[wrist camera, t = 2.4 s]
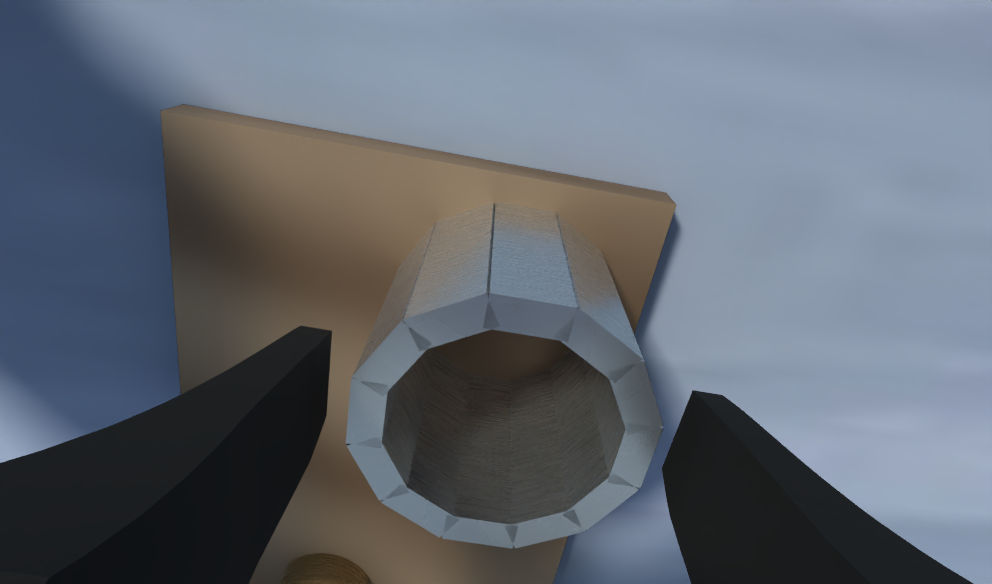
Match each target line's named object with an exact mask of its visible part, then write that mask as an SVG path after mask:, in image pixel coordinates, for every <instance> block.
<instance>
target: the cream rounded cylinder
mask: <svg viewBox="0 0 992 584" xmlns="http://www.w3.org/2000/svg"><path fill="white" fill-rule="evenodd" d="M279 584H371V582H370V580H369V577H368V576H367V574H366V573H365V571H364V570H363V569H362V568H361V567H359V566H358V565H357V564H355V563H354V562H352V561H350V560H348V559H346V558H344V557H341V556H337V555H333V554H326V553H315V554H308V555H304V556H301V557H299V558H297V559H295V560H294V561H292V562H291V563H290V564H289V565H288V566H287V567H286V569H285V571H284V573H283V576H282V578H281V581H280V583H279Z"/></svg>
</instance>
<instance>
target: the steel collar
mask: <svg viewBox="0 0 992 584" xmlns="http://www.w3.org/2000/svg"><path fill="white" fill-rule="evenodd" d="M491 329H493V330H499V331H505V332H511V333H517V334H523V335H529V336H535V337H541V338H547V339H553V340H559V341H561V342H562V343H564V344H565V345H566V346H567V347H569V348H570V349H571V350H570V351H569V352H568V353H567V354H566V355H565V356H564V357H563V358H562V359H561V360H559V361H558V362H557V363H556V364H555V365H554V366H553V367H552V368H551V369H549V370H545V371H542V372H538V373H535V374H531V375H528V376H525V377H521V378H518V379H514V380H511V381H510V380H504V379H498V378H491V377H485V376H479V375H473V374H469V373H467V372H466V371H464V370H463V369H462V368H460V367H459V366H457V365H456V364H455V363H453V362H452V361H450V360H449V359H448V358H446V357H445V356H443V355H442V354H440V353H439V352H438V351H436V349H435V346H439V345H442V344H445V343H448V342H452V341H455V340H458V339H462V338H465V337H468V336H471V335H475V334H478V333H481V332H484V331H488V330H491ZM662 431H663V423H662V419H661V416H660V412H659V409H658V406H657V402H656V399H655V396H654V392H653V389H652V385H651V382H650V379H649V375H648V372H647V368H646V365H645V362H644V359H643V356H642V354H641V351H640V349H639V346H638V344H637V341H636V338H635V336H634V333H633V331H632V328H631V326H630V323H629V320H628V318H627V315H626V313H625V310H624V308H623V305H622V302H621V300H620V297H619V295H618V292H617V290H616V287H615V285H614V282H613V279H612V277H611V274H610V272H609V269H608V267H607V264H606V261H605V259H604V256H603V254H602V251H601V250H600V249H599V248H598V247H597V246H596V245H594V244H593V243H592V242H591V241H590V240H589V239H587V238H586V237H585V236H584V235H583V234H581V233H580V232H579V231H578V230H577V229H576V228H574V227H573V226H572V225H571V224H570V223H569V222H567V221H566V220H565V219H564V218H563V217H561V216H560V215H559V214H558V213H557V214H555V212H552V211H547V210H541V209H536V208H530V207H525V206H519V205H513V204H508V203H502V202H497V201H496V203H495V204H494V202H491V203H488V204H485V205H482V206H479V207H476V208H473V209H470V210H467V211H465V212H462V213H459V214H456V215H453V216H450V217H447V218H444V219H441V220H438V221H437V223H436V222H435V223H434V225H433V226H432V227H431V228H430V229H429V231H428V232H427V233H426V234H425V235H424V237H423V238H422V239H421V240H420V241H419V242H418V244H417V245H416V246H415V247H414V248H413V250H412V251H411V252H410V253H409V254H408V256H407V257H406V258H405V259H404V260H403V261H402V263H401V264H400V266H399V269H398V271H397V273H396V276H395V278H394V280H393V283H392V285H391V287H390V290H389V292H388V294H387V297H386V299H385V301H384V304H383V306H382V308H381V311H380V313H379V315H378V318H377V320H376V322H375V324H374V327H373V329H372V331H371V334H370V336H369V338H368V341H367V343H366V345H365V348H364V350H363V352H362V355H361V357H360V359H359V362H358V364H357V366H356V369H355V371H354V373H353V376H352V378H351V386H350V398H349V410H348V422H347V434H346V443H347V445H346V446H347V448H348V449H349V451H350V453H351V454H352V456H353V458H354V459H355V461H356V463H357V464H358V466H359V468H360V469H361V471H362V473H363V474H364V476H365V478H366V479H367V481H368V483H369V485H370V486H371V488H372V490H373V491H374V493H375V495H376V496H377V498H378V500H379V501H380V500H382V501H381V503H383V504H384V505H386V506H388V507H389V508H391V509H393V510H394V511H396V512H398V513H399V514H401V515H403V516H404V517H406V518H408V519H409V520H411V521H413V522H414V523H416V524H418V525H419V526H421V527H423V528H424V529H426V530H428V531H429V532H431V533H433V534H434V535H436V536H438V537H439V538H440V537H441V536H442V535H443V536H442V539H449V540H456V541H463V542H470V543H477V544H484V545H491V546H497V547H504V548H511V549H512V548H513V545H514V547H515V548H519V547H523V546H528V545H532V544H536V543H540V542H544V541H549V540H553V539H557V538H561V537H565V536H570V535H574V534H578V533H582V532H583V529H584V530H585V531H587V530H588V529H589V528H591V527H592V526H593V525H594V524H596V523H597V522H598V521H600V520H601V519H602V518H603V517H605V516H606V515H607V514H609V513H610V512H611V511H613V510H614V509H615V508H616V507H618V506H619V505H620V504H622V503H623V502H624V501H625V500H627V499H628V498H629V497H631V496H632V495H633V494H634V493H636V492H637V491H638V490H639V488H641V485H642V483H643V480H644V478H645V475H646V472H647V470H648V467H649V465H650V462H651V459H652V457H653V454H654V452H655V449H656V446H657V444H658V441H659V439H660V436H661V433H662Z"/></svg>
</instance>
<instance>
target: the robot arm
mask: <svg viewBox="0 0 992 584" xmlns="http://www.w3.org/2000/svg"><path fill="white" fill-rule="evenodd" d="M331 340H332V331H331V330H325V329H319V328H313V327H307V326H299V327H297V328H295V329H294V330H292V331H290V332H289V333H287V334H285V335H284V336H282V337H281V338H279V339H277V340H276V341H274V342H273V343H271V344H269V345H268V346H266V347H265V348H263V349H261V350H260V351H258V352H257V353H255V354H253V355H251V356H250V357H248V358H246V359H245V360H243V361H241V362H240V363H238V364H236V365H235V366H233V367H231V368H230V369H228V370H226V371H225V372H223V373H221V374H219V375H217V376H215V377H213V378H211V379H210V380H208V381H206V382H204V383H202V384H200V385H198V386H196V387H195V388H193V389H191V390H189V391H187V392H185V393H183V394H181V395H180V396H178V397H175V398H173V399H171V400H169V401H167V402H165V403H163V404H161V405H159V406H156V407H154V408H152V409H150V410H148V411H145V412H143V413H140V414H138V415H136V416H133V417H131V418H129V419H126V420H124V421H122V422H119V423H117V424H114V425H112V426H109V427H107V428H104V429H101V430H98V431H95V432H93V433H90V434H87V435H84V436H81V437H79V438H76V439H73V440H70V441H67V442H64V443H62V444H59V445H56V446H53V447H50V448H47V449H45V450H42V451H38V452H35V453H32V454H29V455H25V456H22V457H19V458H15V459H12V460H9V461H6V462H2V463H0V584H249V582H250V580H251V577H252V575H253V573H254V571H255V569H256V567H257V564H258V562H259V560H260V558H261V556H262V554H263V553H264V551H265V549H266V547H267V545H268V543H269V541H270V539H271V537H272V535H273V533H274V531H275V529H276V527H277V525H278V523H279V521H280V520H281V518H282V516H283V514H284V512H285V510H286V508H287V506H288V504H289V502H290V500H291V498H292V496H293V494H294V492H295V490H296V488H297V486H298V484H299V482H300V480H301V478H302V477H303V475H304V473H305V471H306V469H307V467H308V465H309V463H310V461H311V458H312V455H313V453H314V450H315V447H316V444H317V442H318V439H319V436H320V433H321V430H322V427H323V425H324V422H325V419H326V416H327V402H328V387H329V371H330V356H331ZM662 472H663V478H664V485H665V491H666V497H667V503H668V508H669V513H670V517H671V521H672V524H673V527H674V531H675V534H676V537H677V540H678V543H679V547H680V550H681V553H682V556H683V559H684V562H685V565H686V568H687V572H688V575H689V578H690V581H691V584H973V583H971V582H970V581H968V580H966V579H965V578H963V577H962V576H960V575H958V574H957V573H955V572H953V571H952V570H950V569H948V568H947V567H945V566H943V565H942V564H940V563H939V562H937V561H936V560H934V559H933V558H931V557H929V556H928V555H926V554H925V553H923V552H922V551H920V550H919V549H917V548H916V547H914V546H913V545H911V544H910V543H909V542H907V541H906V540H904V539H903V538H901V537H900V536H898V535H897V534H895V533H894V532H893V531H891V530H890V529H888V528H887V527H885V526H884V525H882V524H881V523H880V522H878V521H877V520H875V519H874V518H873V517H871V516H870V515H869V514H867V513H866V512H865V511H863V510H862V509H861V508H859V507H858V506H857V505H855V504H854V503H853V502H852V501H850V500H849V499H848V498H846V497H845V496H844V495H843V494H841V493H840V492H839V491H837V490H836V489H835V488H834V487H832V486H831V485H830V484H828V483H827V482H826V481H825V480H824V479H822V478H821V477H820V476H819V475H818V474H816V473H815V472H814V471H813V470H811V469H810V468H809V467H808V466H807V465H805V464H804V463H803V462H802V461H801V460H800V459H798V458H797V457H796V456H795V455H794V454H792V453H791V452H790V451H789V450H788V449H787V448H785V447H784V446H783V445H782V444H781V443H780V442H779V441H777V440H776V439H775V438H774V437H773V436H772V435H770V434H769V433H768V432H767V431H766V430H765V429H764V428H762V427H761V426H760V425H759V424H758V423H757V422H755V421H754V420H753V419H752V418H751V417H750V416H748V415H747V414H746V413H745V412H744V411H742V410H741V409H740V408H739V407H737V406H736V405H735V404H734V403H732V402H731V401H730V400H728V399H727V398H726V397H724V396H723V395H718V394H712V393H706V392H699V391H692V394H691V396H690V399H689V401H688V404H687V406H686V409H685V411H684V414H683V416H682V419H681V421H680V424H679V427H678V429H677V432H676V434H675V437H674V439H673V442H672V444H671V447H670V449H669V452H668V454H667V457H666V459H665V462H664V464H663V467H662Z"/></svg>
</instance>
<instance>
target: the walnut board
mask: <svg viewBox="0 0 992 584" xmlns="http://www.w3.org/2000/svg"><path fill="white" fill-rule="evenodd" d="M161 125H162V139H163V153H164V167H165V181H166V195H167V209H168V223H169V237H170V251H171V265H172V279H173V293H174V307H175V321H176V335H177V349H178V363H179V377H180V391H181V394H183V393H185V392H187V391H189V390H191V389H193V388H195V387H196V386H198V385H200V384H202V383H204V382H206V381H208V380H210V379H211V378H213V377H215V376H217V375H219V374H221V373H223V372H225V371H226V370H228V369H230V368H231V367H233V366H235V365H236V364H238V363H240V362H241V361H243V360H245V359H246V358H248V357H250V356H251V355H253V354H255V353H257V352H258V351H260V350H261V349H263V348H265V347H266V346H268V345H269V344H271V343H273V342H274V341H276V340H277V339H279V338H281V337H282V336H284V335H285V334H287V333H289V332H290V331H292V330H294V329H295V328H297V327H299V326H307V327H313V328H319V329H325V330H331V331H332V340H331V356H330V371H329V387H328V402H327V416H326V419H325V422H324V425H323V427H322V430H321V433H320V436H319V439H318V442H317V444H316V447H315V450H314V453H313V455H312V458H311V461H310V463H309V465H308V467H307V469H306V471H305V473H304V475H303V477H302V478H301V480H300V482H299V484H298V486H297V488H296V490H295V492H294V494H293V496H292V498H291V500H290V502H289V504H288V506H287V508H286V510H285V512H284V514H283V516H282V518H281V520H280V521H279V523H278V525H277V527H276V529H275V531H274V533H273V535H272V537H271V539H270V541H269V543H268V545H267V547H266V549H265V551H264V553H263V554H262V556H261V558H260V560H259V562H258V564H257V567H256V569H255V571H254V573H253V575H252V577H251V580H250V582H249V584H279V583H280V581H281V578H282V576H283V573H284V571H285V569H286V567H287V566H288V565H289V564H290V563H291V562H292V561H294V560H295V559H297V558H299V557H301V556H304V555H308V554H315V553H326V554H333V555H337V556H341V557H344V558H346V559H348V560H350V561H352V562H354V563H355V564H357V565H358V566H359V567H361V568H362V569H363V570H364V571H365V573H366V574H367V576H368V577H369V580H370V582H371V584H553V581H554V578H555V575H556V572H557V569H558V566H559V563H560V560H561V557H562V554H563V550H564V547H565V544H566V541H567V538H568V536H565V537H561V538H557V539H553V540H549V541H544V542H540V543H536V544H532V545H528V546H523V547H519V548H515V547H514V545H513V548H512V549H511V548H504V547H497V546H491V545H484V544H477V543H470V542H463V541H456V540H449V539H442V536H443V535H442V536H441V537H440V538H439V537H438V536H436V535H434V534H433V533H431V532H429V531H428V530H426V529H424V528H423V527H421V526H419V525H418V524H416V523H414V522H413V521H411V520H409V519H408V518H406V517H404V516H403V515H401V514H399V513H398V512H396V511H394V510H393V509H391V508H389V507H388V506H386V505H384V504H383V503H381V501H382V500H380V501H379V500H378V498H377V496H376V495H375V493H374V491H373V490H372V488H371V486H370V485H369V483H368V481H367V479H366V478H365V476H364V474H363V473H362V471H361V469H360V468H359V466H358V464H357V463H356V461H355V459H354V458H353V456H352V454H351V453H350V451H349V449H348V448H347V446H346V445H347V443H346V434H347V422H348V410H349V398H350V386H351V378H352V376H353V373H354V371H355V369H356V366H357V364H358V362H359V359H360V357H361V355H362V352H363V350H364V348H365V345H366V343H367V341H368V338H369V336H370V334H371V331H372V329H373V327H374V324H375V322H376V320H377V318H378V315H379V313H380V311H381V308H382V306H383V304H384V301H385V299H386V297H387V294H388V292H389V290H390V287H391V285H392V283H393V280H394V278H395V276H396V273H397V271H398V269H399V266H400V264H401V263H402V261H403V260H404V259H405V258H406V257H407V256H408V254H409V253H410V252H411V251H412V250H413V248H414V247H415V246H416V245H417V244H418V242H419V241H420V240H421V239H422V238H423V237H424V235H425V234H426V233H427V232H428V231H429V229H430V228H431V227H432V226H433V225H434V223H435V222H436V223H437V221H438V220H441V219H444V218H447V217H450V216H453V215H456V214H459V213H462V212H465V211H467V210H470V209H473V208H476V207H479V206H482V205H485V204H488V203H491V202H494V204H495V203H496V201H497V202H502V203H508V204H513V205H519V206H525V207H530V208H536V209H541V210H547V211H552V212H555V214H557V213H558V214H559V215H560V216H561V217H563V218H564V219H565V220H566V221H567V222H569V223H570V224H571V225H572V226H573V227H574V228H576V229H577V230H578V231H579V232H580V233H581V234H583V235H584V236H585V237H586V238H587V239H589V240H590V241H591V242H592V243H593V244H594V245H596V246H597V247H598V248H599V249H600V250H601V251H602V254H603V256H604V259H605V261H606V264H607V267H608V269H609V272H610V274H611V277H612V279H613V282H614V285H615V287H616V290H617V292H618V295H619V297H620V300H621V302H622V305H623V308H624V310H625V313H626V315H627V318H628V320H629V323H630V326H631V328H632V331H633V333H635V330H636V327H637V324H638V321H639V318H640V315H641V312H642V309H643V305H644V302H645V299H646V296H647V293H648V290H649V287H650V284H651V281H652V278H653V275H654V272H655V269H656V266H657V263H658V260H659V256H660V253H661V250H662V247H663V244H664V241H665V238H666V235H667V232H668V229H669V226H670V223H671V220H672V217H673V214H674V210H675V207H676V204H675V202H674V201H673V200H672V199H671V198H670V197H669V196H668V194H667V193H664V192H659V191H654V190H648V189H643V188H637V187H632V186H626V185H621V184H615V183H610V182H604V181H599V180H594V179H588V178H583V177H577V176H572V175H566V174H561V173H555V172H550V171H544V170H539V169H534V168H528V167H523V166H517V165H512V164H506V163H501V162H495V161H490V160H484V159H479V158H474V157H468V156H463V155H457V154H452V153H446V152H441V151H435V150H430V149H424V148H419V147H413V146H408V145H403V144H397V143H392V142H386V141H381V140H375V139H370V138H364V137H359V136H353V135H348V134H343V133H337V132H332V131H326V130H321V129H315V128H310V127H304V126H299V125H293V124H288V123H283V122H277V121H272V120H266V119H261V118H255V117H250V116H244V115H239V114H233V113H228V112H223V111H217V110H212V109H206V108H201V107H195V106H190V105H184V104H182V105H179V106H175V107H171V108H168V109H164V110H161ZM435 349H436V351H438V352H439V353H440V354H442V355H443V356H445V357H446V358H448V359H449V360H450V361H452V362H453V363H455V364H456V365H457V366H459V367H460V368H462V369H463V370H464V371H466V372H467V373H469V374H473V375H479V376H485V377H491V378H498V379H504V380H510V381H511V380H514V379H518V378H521V377H525V376H528V375H531V374H535V373H538V372H542V371H545V370H549V369H551V368H552V367H553V366H554V365H555V364H556V363H557V362H558V361H559V360H561V359H562V358H563V357H564V356H565V355H566V354H567V353H568V352H569V351H570V350H571V349H570V348H569V347H567V346H566V345H565V344H564V343H562V342H561V341H559V340H553V339H547V338H541V337H535V336H529V335H523V334H517V333H511V332H505V331H499V330H493V329H491V330H488V331H484V332H481V333H478V334H475V335H471V336H468V337H465V338H462V339H458V340H455V341H452V342H448V343H445V344H442V345H439V346H435Z"/></svg>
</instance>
